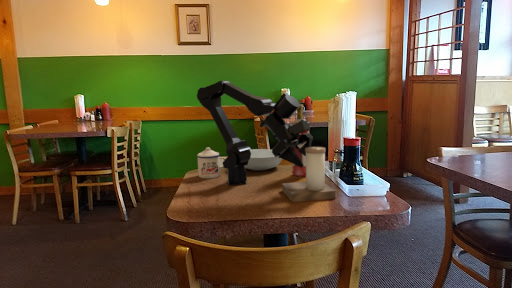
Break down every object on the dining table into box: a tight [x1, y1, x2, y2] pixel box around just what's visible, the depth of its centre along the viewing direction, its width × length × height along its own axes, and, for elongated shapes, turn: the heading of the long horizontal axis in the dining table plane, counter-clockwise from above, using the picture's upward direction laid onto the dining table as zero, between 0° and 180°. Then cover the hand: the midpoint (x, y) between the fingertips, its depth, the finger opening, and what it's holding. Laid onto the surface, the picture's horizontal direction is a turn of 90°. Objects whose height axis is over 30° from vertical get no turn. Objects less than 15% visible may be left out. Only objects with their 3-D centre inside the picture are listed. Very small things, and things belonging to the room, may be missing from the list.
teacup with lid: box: [196, 147, 226, 179], centre depth 150 cm, size 12×9×12 cm
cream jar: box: [305, 146, 326, 191], centre depth 118 cm, size 6×6×13 cm
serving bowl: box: [244, 148, 283, 171], centre depth 161 cm, size 21×21×7 cm
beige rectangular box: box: [281, 181, 336, 203], centre depth 121 cm, size 14×13×2 cm
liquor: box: [291, 104, 310, 178], centre depth 144 cm, size 7×7×28 cm
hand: (309, 163), depth 119 cm, fingers open, 9 cm apart
